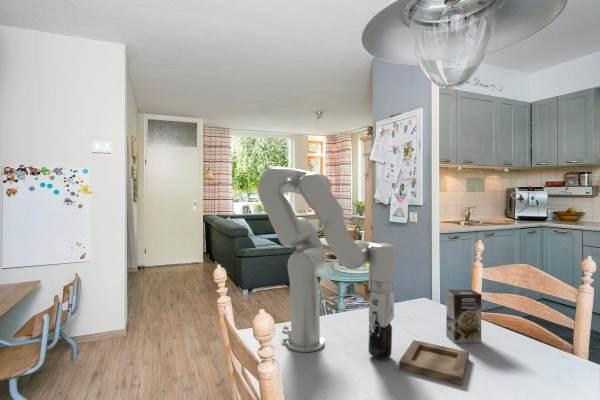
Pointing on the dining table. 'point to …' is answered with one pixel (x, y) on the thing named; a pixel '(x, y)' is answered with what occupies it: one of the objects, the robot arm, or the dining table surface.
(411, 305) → the dining table surface
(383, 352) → the supplement bottle
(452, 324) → the coffee box
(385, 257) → the robot arm
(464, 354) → the wooden tray
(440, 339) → the dining table surface
